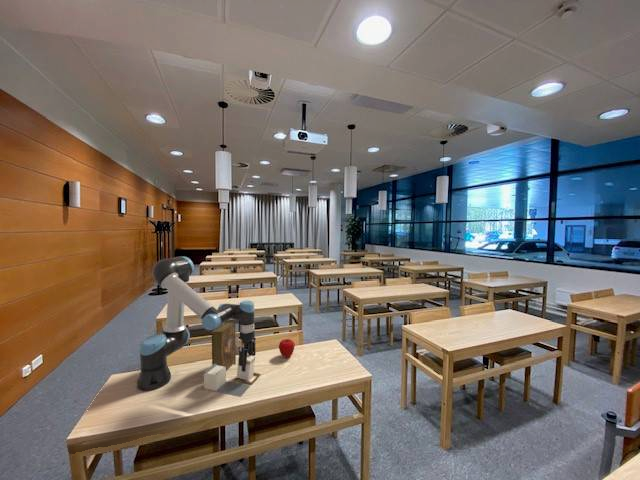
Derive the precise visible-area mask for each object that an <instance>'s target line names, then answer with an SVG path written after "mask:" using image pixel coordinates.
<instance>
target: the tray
mask: <svg viewBox="0 0 640 480" xmlns="http://www.w3.org/2000/svg"><path fill="white" fill-rule="evenodd" d="M253 376H256V377H255V378H254V379H253V380H252V381H250V380H249V381H246V380H243V379H240V378H237V376H236V377H235V378H233V381H234V382H235V383H237V382H238V383H240V384H245V385H247V384H248V385H253V384H254V383H255V382H256V381H257V380H258V379H259V378H260V377H261V373H258V372H254V373H253Z"/></svg>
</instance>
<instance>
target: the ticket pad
mask: <svg viewBox="0 0 640 480" xmlns="http://www.w3.org/2000/svg"><path fill="white" fill-rule="evenodd" d="M226 381H227V371H226V367H224V366H218V365H217V364H213V365H212V364H211V366H209V367H208V368H207V369H206V370H204V371H203V387H204V389H203V390H205V389H209V390H208V391H210V390H214V391H217V390H218V389H219V388H220V387H221V386H222V385H223V384H224V383H225V382H226ZM214 391H213V392H214Z"/></svg>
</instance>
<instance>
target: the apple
mask: <svg viewBox="0 0 640 480" xmlns="http://www.w3.org/2000/svg"><path fill="white" fill-rule="evenodd" d="M295 346H296V345H295V342H294V340H292V339H290V338H286V339H281V341H280V342H279V345H278V349H279V352H280V355H281V356H283V357H284V358H289V357H291V356H292V355H293V353H294V350H295Z"/></svg>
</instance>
